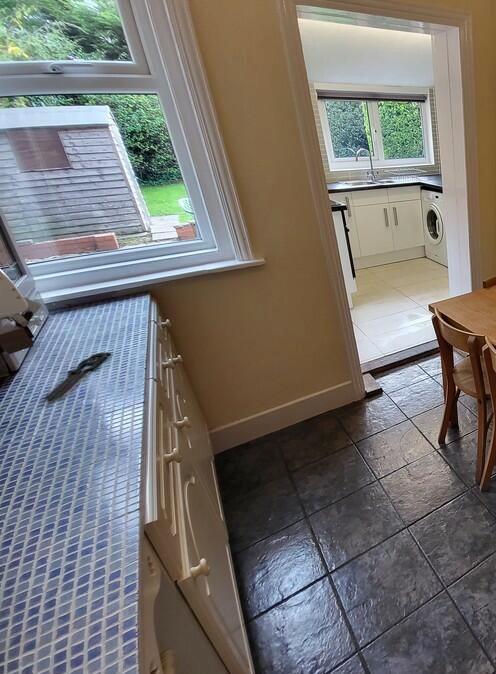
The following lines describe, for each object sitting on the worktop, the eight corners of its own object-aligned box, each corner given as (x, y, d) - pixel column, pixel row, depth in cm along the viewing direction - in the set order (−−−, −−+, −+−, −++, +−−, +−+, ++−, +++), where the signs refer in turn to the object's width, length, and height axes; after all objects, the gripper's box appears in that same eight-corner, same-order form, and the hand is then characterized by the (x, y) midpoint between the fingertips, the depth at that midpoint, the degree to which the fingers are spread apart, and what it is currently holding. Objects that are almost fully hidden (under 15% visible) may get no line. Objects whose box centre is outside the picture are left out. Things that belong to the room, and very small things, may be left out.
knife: (58, 405, 95) (55, 400, 94) (24, 410, 94) (21, 405, 93) (119, 354, 117) (117, 349, 117) (92, 358, 116) (90, 353, 115)
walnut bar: (34, 346, 89) (22, 327, 88) (8, 354, 86) (-5, 335, 84) (20, 341, 92) (8, 323, 90) (-6, 349, 89) (-18, 330, 87)
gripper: (13, 254, 90) (57, 328, 97) (-114, 278, 76) (-51, 363, 84) (28, 256, 87) (72, 333, 95) (-101, 282, 73) (-37, 370, 81)
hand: (13, 346), depth 89 cm, fingers closed on walnut bar, 4 cm apart
